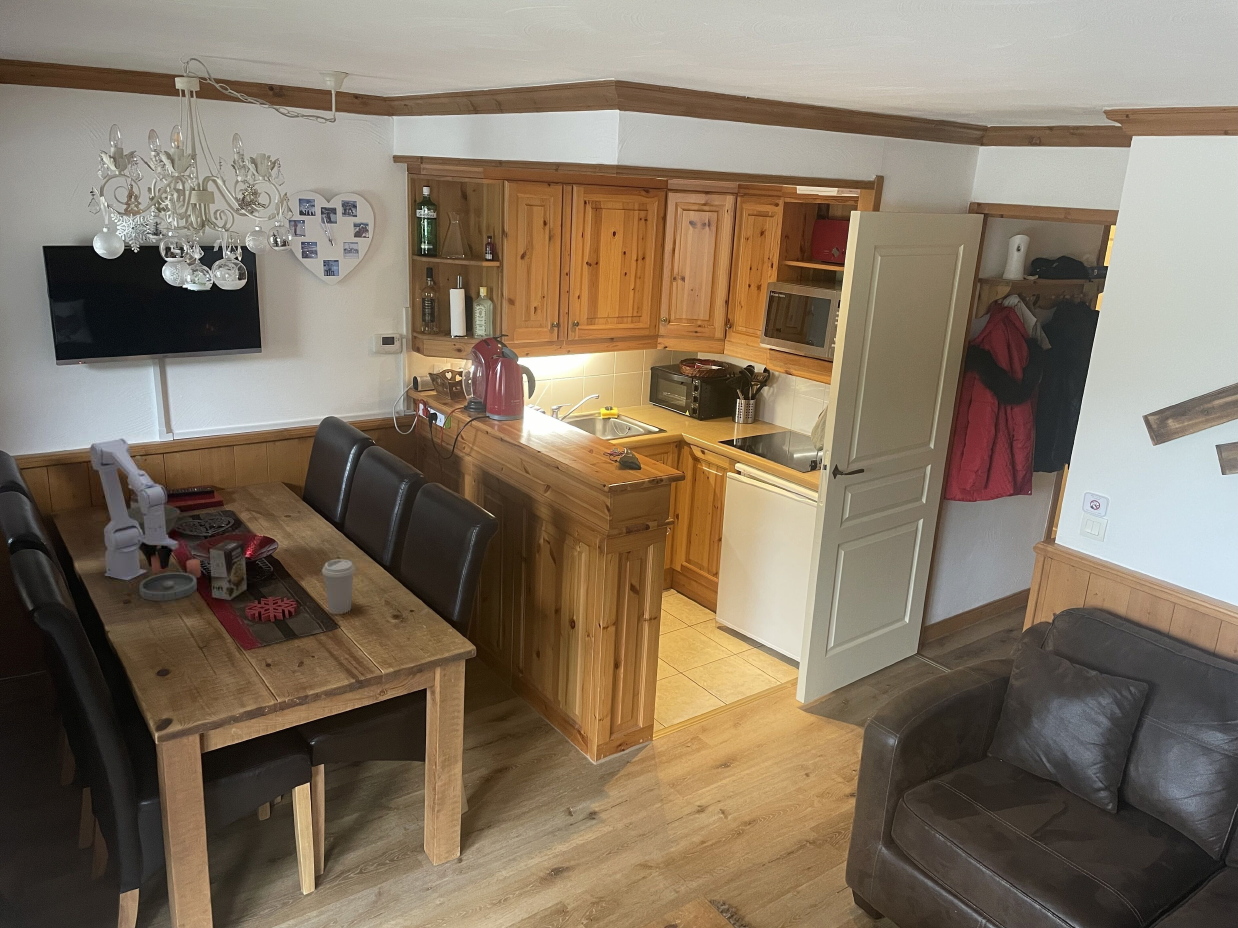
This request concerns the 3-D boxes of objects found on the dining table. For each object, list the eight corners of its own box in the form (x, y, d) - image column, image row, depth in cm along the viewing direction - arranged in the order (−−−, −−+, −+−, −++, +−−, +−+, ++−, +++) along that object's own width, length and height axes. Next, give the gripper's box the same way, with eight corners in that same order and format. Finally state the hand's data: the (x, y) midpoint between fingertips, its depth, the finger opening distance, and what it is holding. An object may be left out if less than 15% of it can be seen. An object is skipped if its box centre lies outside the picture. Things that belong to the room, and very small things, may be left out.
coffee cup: (346, 600, 286) (345, 555, 282) (361, 610, 280) (360, 565, 276) (317, 608, 280) (316, 563, 276) (332, 619, 273) (331, 573, 269)
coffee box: (230, 600, 282) (227, 551, 277) (211, 597, 283) (208, 549, 278) (247, 588, 290) (245, 541, 286) (229, 586, 291) (226, 538, 287)
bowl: (186, 543, 322) (184, 516, 319) (126, 552, 312) (123, 524, 309) (176, 526, 337) (174, 501, 334) (118, 534, 326) (116, 508, 324)
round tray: (127, 595, 281) (127, 587, 280) (167, 576, 295) (166, 569, 295) (170, 604, 276) (169, 597, 276) (208, 585, 291) (207, 577, 290)
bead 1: (149, 572, 281) (147, 557, 280) (158, 567, 285) (157, 552, 283) (160, 574, 280) (158, 559, 279) (169, 569, 284) (168, 554, 282)
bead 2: (184, 576, 296) (183, 562, 294) (193, 572, 300) (192, 558, 298) (194, 579, 295) (193, 564, 293) (203, 574, 298) (202, 560, 297)
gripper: (184, 524, 280) (187, 565, 284) (145, 517, 284) (149, 558, 287) (166, 532, 273) (170, 574, 277) (127, 524, 277) (131, 566, 281)
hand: (158, 566), depth 282 cm, fingers closed on bead 1, 4 cm apart
